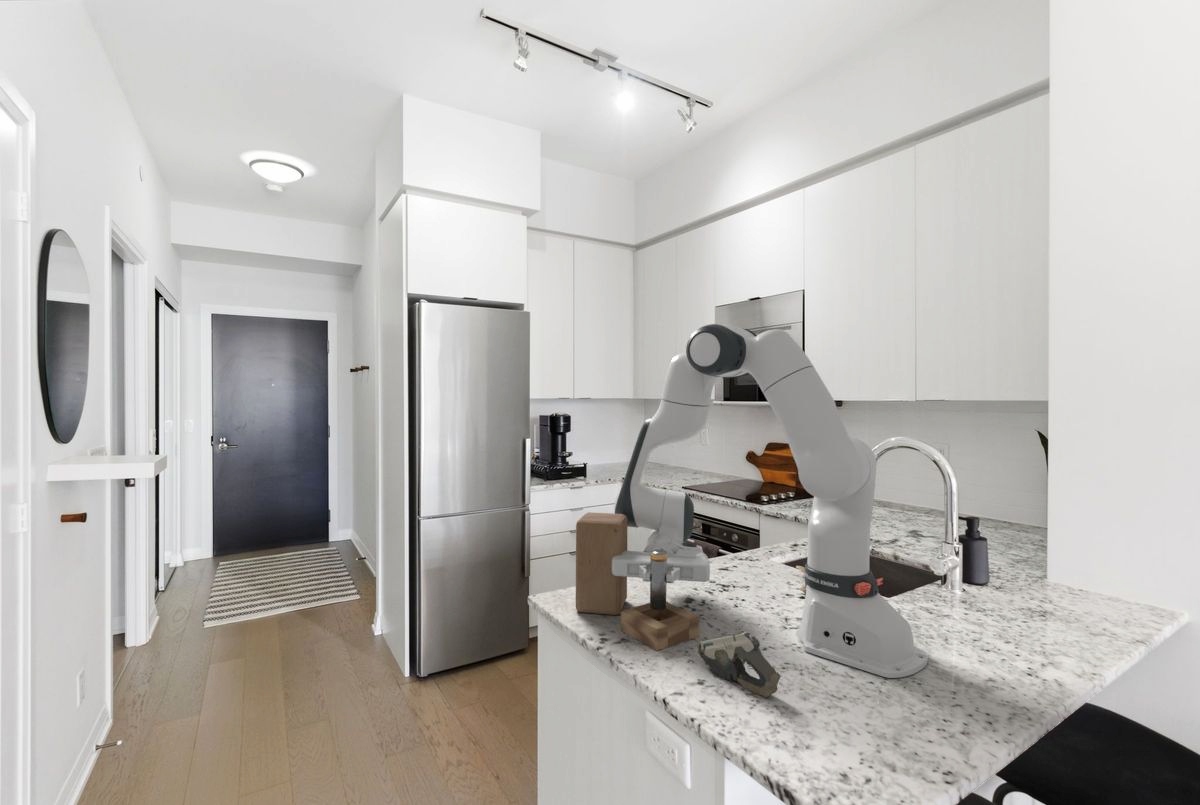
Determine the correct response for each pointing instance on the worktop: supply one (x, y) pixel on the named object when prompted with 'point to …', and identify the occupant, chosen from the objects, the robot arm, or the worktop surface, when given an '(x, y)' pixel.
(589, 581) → the wooden block
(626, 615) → the bore block
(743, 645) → the futuristic pistol
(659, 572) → the grey metal cylinder
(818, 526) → the robot arm
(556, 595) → the worktop surface
